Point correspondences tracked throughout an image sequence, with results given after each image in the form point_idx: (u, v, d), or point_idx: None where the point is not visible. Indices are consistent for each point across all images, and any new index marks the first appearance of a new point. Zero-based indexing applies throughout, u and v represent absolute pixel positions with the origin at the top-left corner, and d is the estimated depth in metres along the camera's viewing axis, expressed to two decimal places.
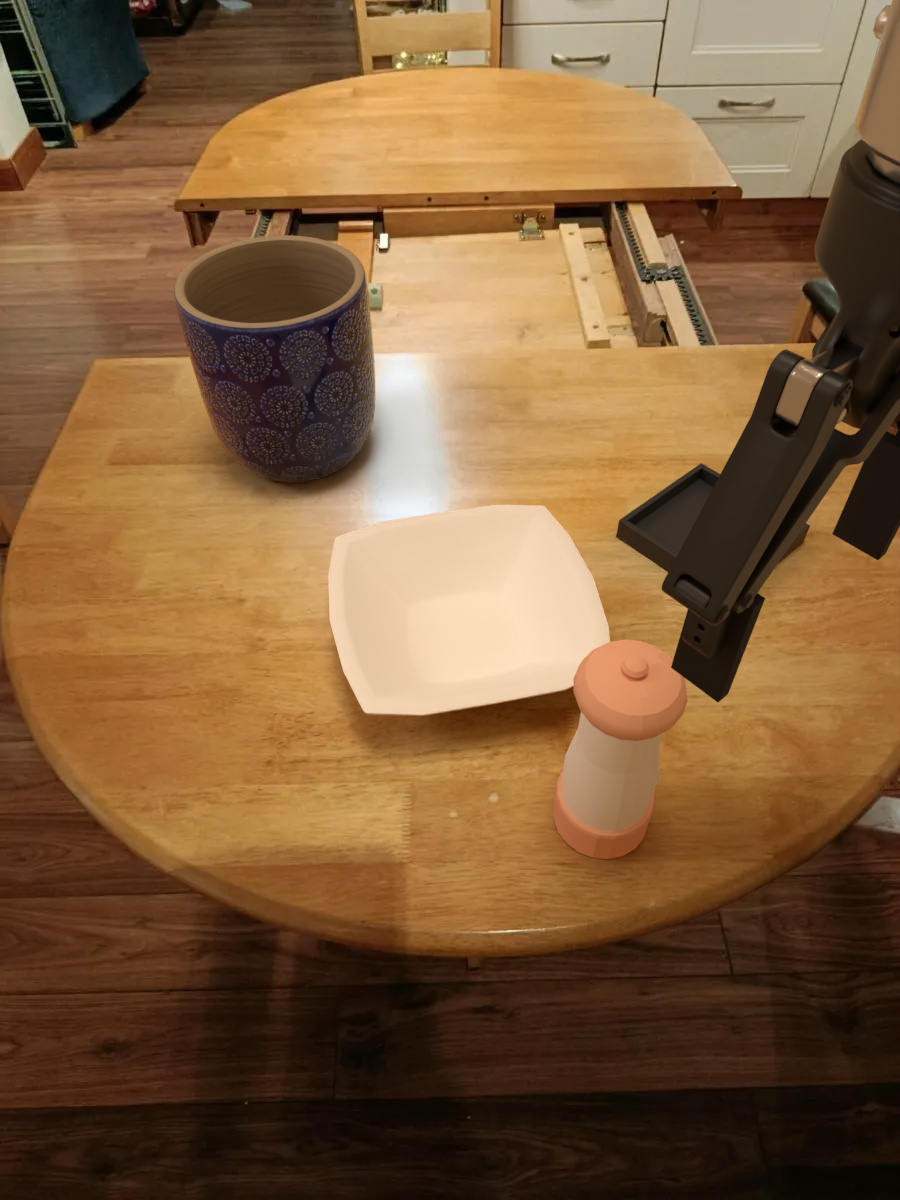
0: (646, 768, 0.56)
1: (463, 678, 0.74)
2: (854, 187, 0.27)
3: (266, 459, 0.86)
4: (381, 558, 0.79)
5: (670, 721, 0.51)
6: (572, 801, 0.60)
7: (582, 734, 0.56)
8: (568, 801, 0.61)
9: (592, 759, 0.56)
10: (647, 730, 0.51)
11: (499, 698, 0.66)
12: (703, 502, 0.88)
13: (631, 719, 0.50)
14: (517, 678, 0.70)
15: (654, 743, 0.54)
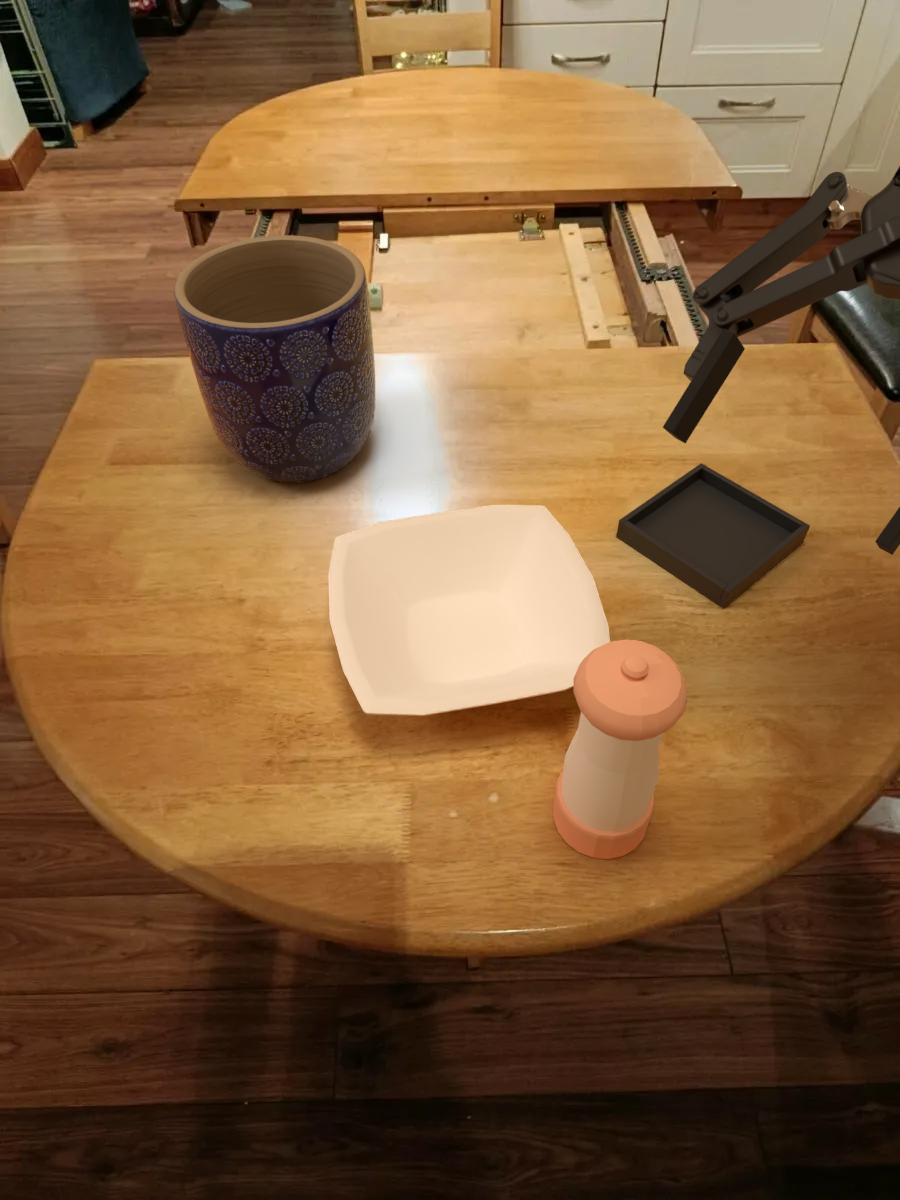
0: (646, 768, 0.56)
1: (463, 678, 0.74)
2: None
3: (266, 459, 0.86)
4: (381, 558, 0.79)
5: (670, 721, 0.51)
6: (572, 801, 0.60)
7: (582, 734, 0.56)
8: (568, 801, 0.61)
9: (592, 759, 0.56)
10: (647, 730, 0.51)
11: (499, 698, 0.66)
12: (703, 502, 0.88)
13: (631, 719, 0.50)
14: (517, 678, 0.70)
15: (654, 743, 0.54)
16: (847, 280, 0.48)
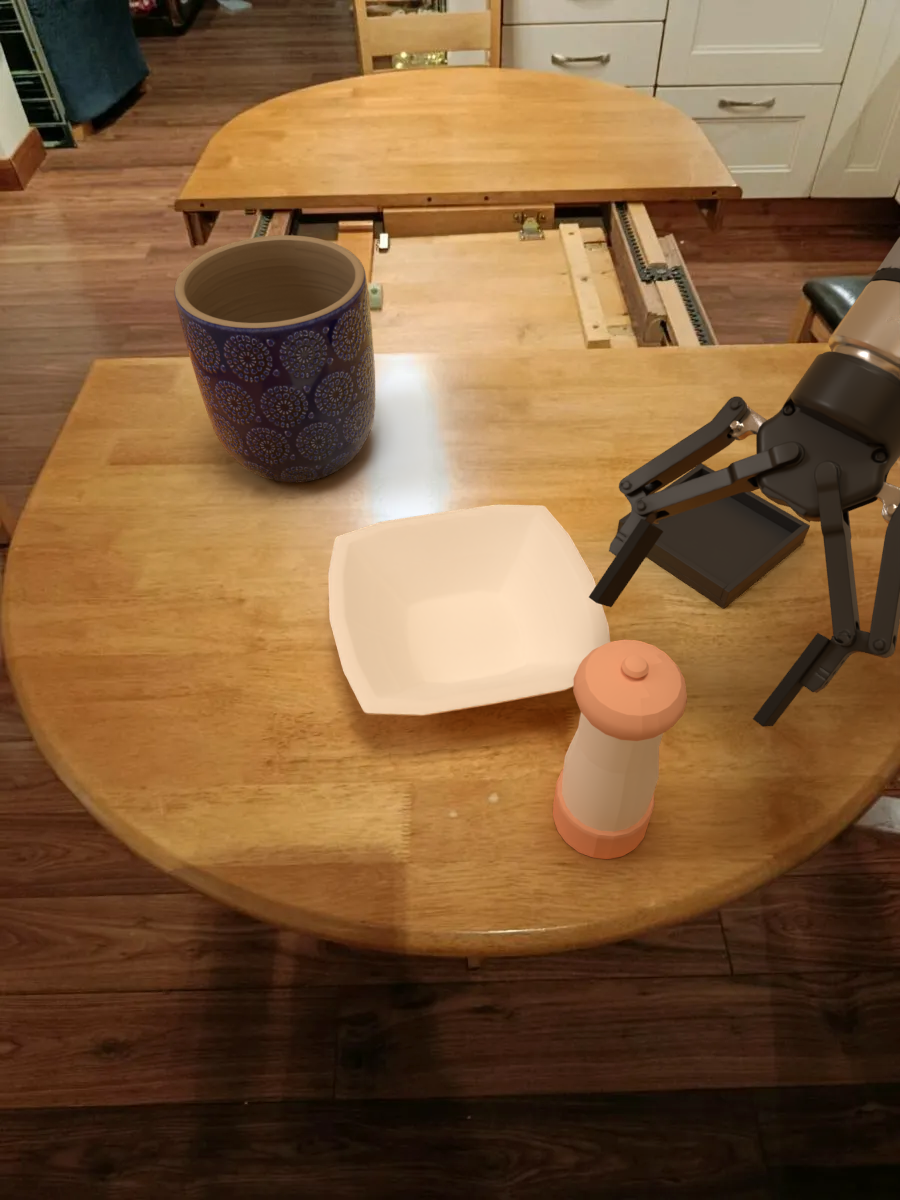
0: (646, 768, 0.56)
1: (463, 678, 0.74)
2: None
3: (266, 459, 0.86)
4: (382, 558, 0.79)
5: (670, 721, 0.51)
6: (572, 801, 0.60)
7: (582, 734, 0.56)
8: (568, 801, 0.61)
9: (592, 759, 0.56)
10: (647, 730, 0.51)
11: (499, 698, 0.66)
12: None
13: (631, 719, 0.50)
14: (517, 678, 0.70)
15: (654, 743, 0.54)
16: (745, 486, 0.56)
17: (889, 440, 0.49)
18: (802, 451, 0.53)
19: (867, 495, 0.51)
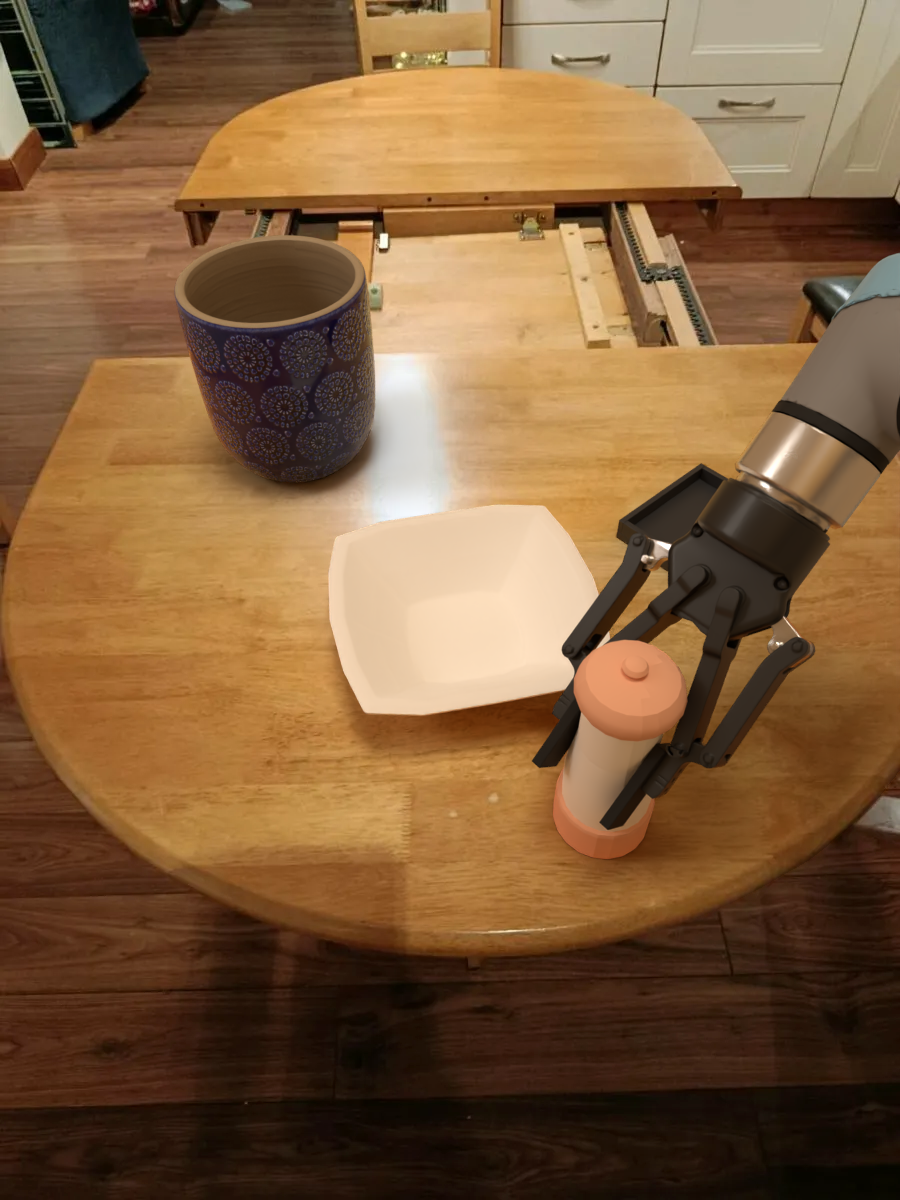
0: None
1: (463, 678, 0.74)
2: None
3: (266, 459, 0.86)
4: (382, 558, 0.79)
5: (670, 722, 0.51)
6: (572, 801, 0.60)
7: (582, 734, 0.56)
8: (568, 801, 0.61)
9: (593, 759, 0.56)
10: (647, 730, 0.51)
11: (499, 698, 0.66)
12: (703, 502, 0.88)
13: (631, 720, 0.50)
14: (517, 678, 0.70)
15: (654, 743, 0.54)
16: (671, 619, 0.56)
17: (788, 571, 0.50)
18: (708, 570, 0.54)
19: (762, 622, 0.52)
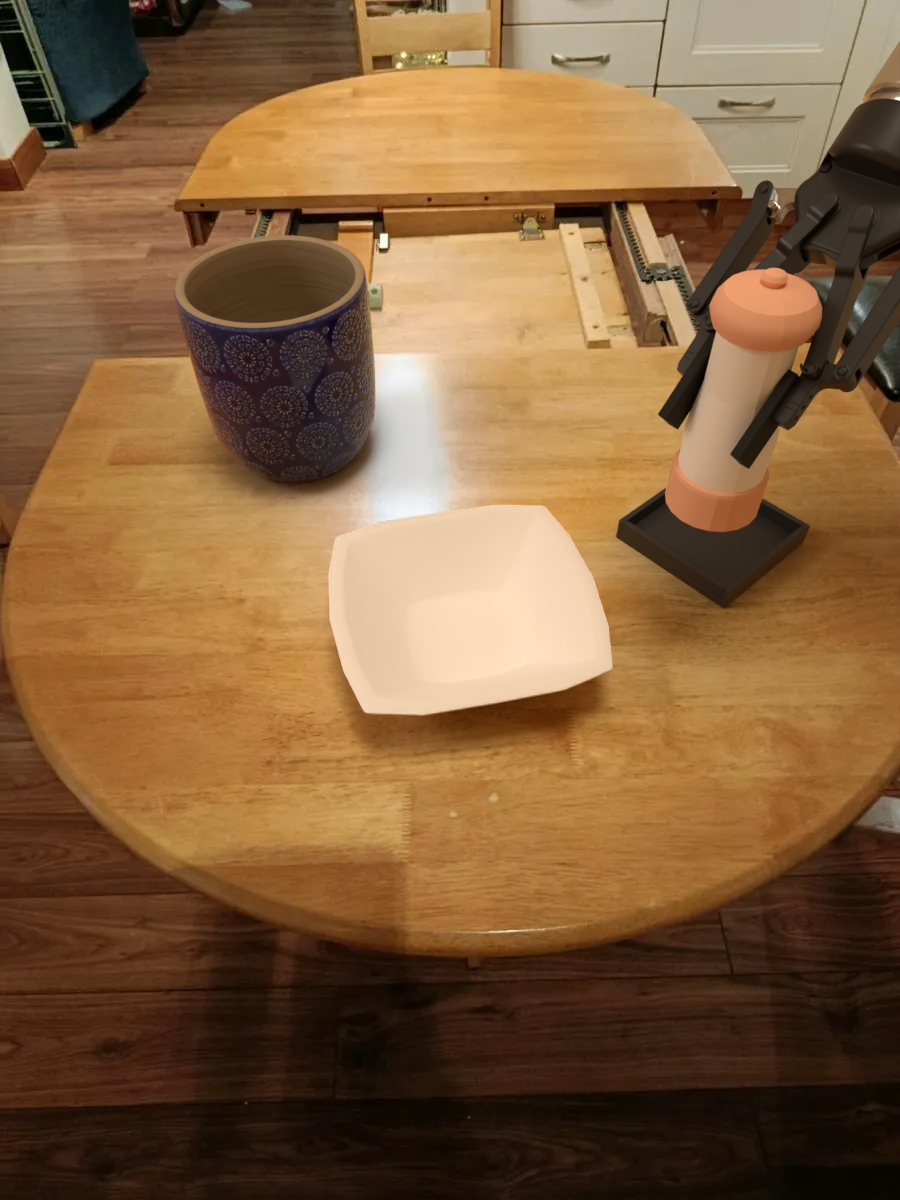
0: None
1: (463, 678, 0.74)
2: None
3: (266, 459, 0.86)
4: (382, 558, 0.79)
5: (810, 327, 0.53)
6: (693, 463, 0.62)
7: (713, 372, 0.58)
8: (688, 466, 0.63)
9: (723, 396, 0.58)
10: (789, 332, 0.53)
11: (499, 698, 0.66)
12: None
13: (773, 320, 0.52)
14: (517, 678, 0.70)
15: (787, 368, 0.56)
16: (797, 262, 0.58)
17: None
18: (838, 199, 0.56)
19: (895, 237, 0.54)
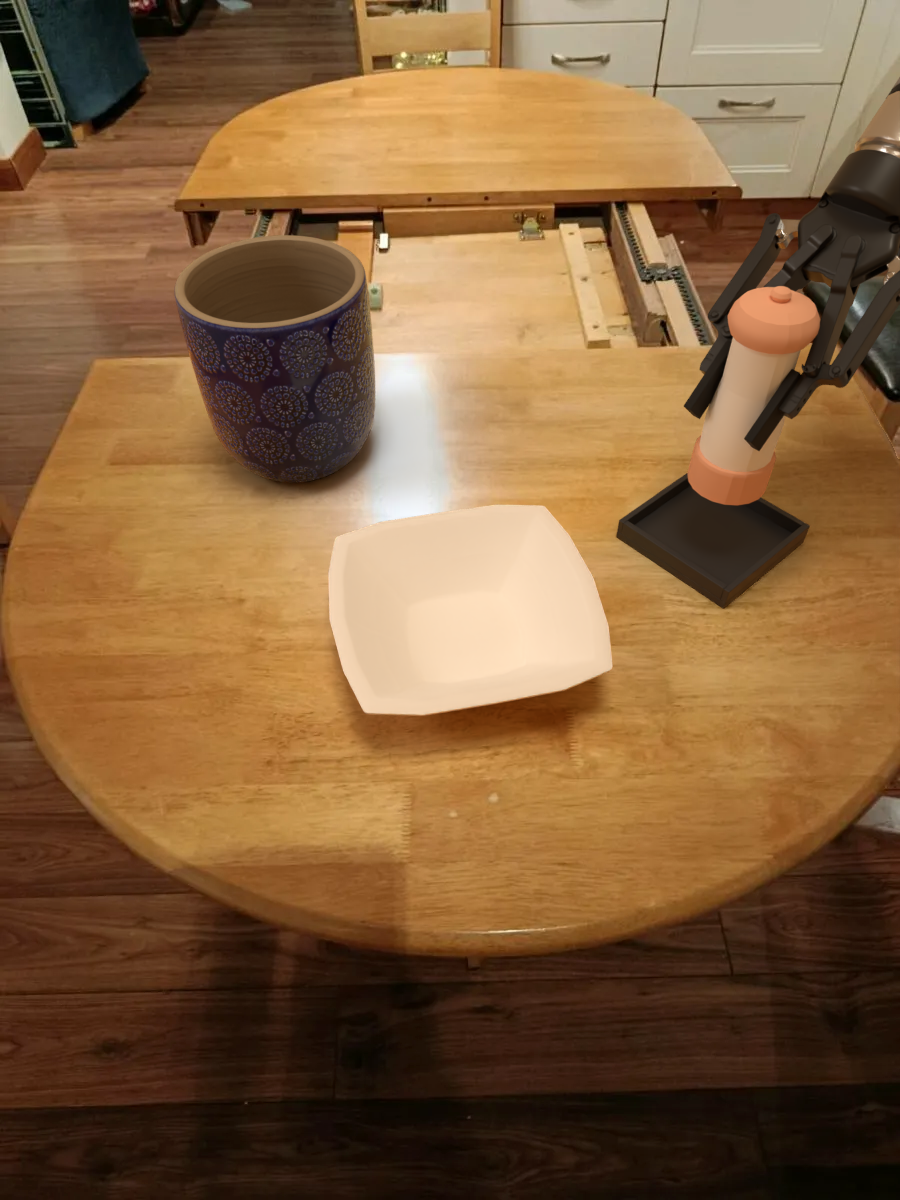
0: None
1: (463, 678, 0.74)
2: None
3: (266, 459, 0.86)
4: (381, 558, 0.79)
5: (809, 334, 0.65)
6: (713, 446, 0.75)
7: (730, 371, 0.70)
8: (708, 450, 0.75)
9: (738, 390, 0.70)
10: (792, 338, 0.65)
11: (499, 698, 0.66)
12: (703, 502, 0.88)
13: (780, 329, 0.65)
14: (517, 678, 0.70)
15: (791, 367, 0.68)
16: (800, 280, 0.70)
17: None
18: (833, 229, 0.68)
19: (879, 261, 0.66)
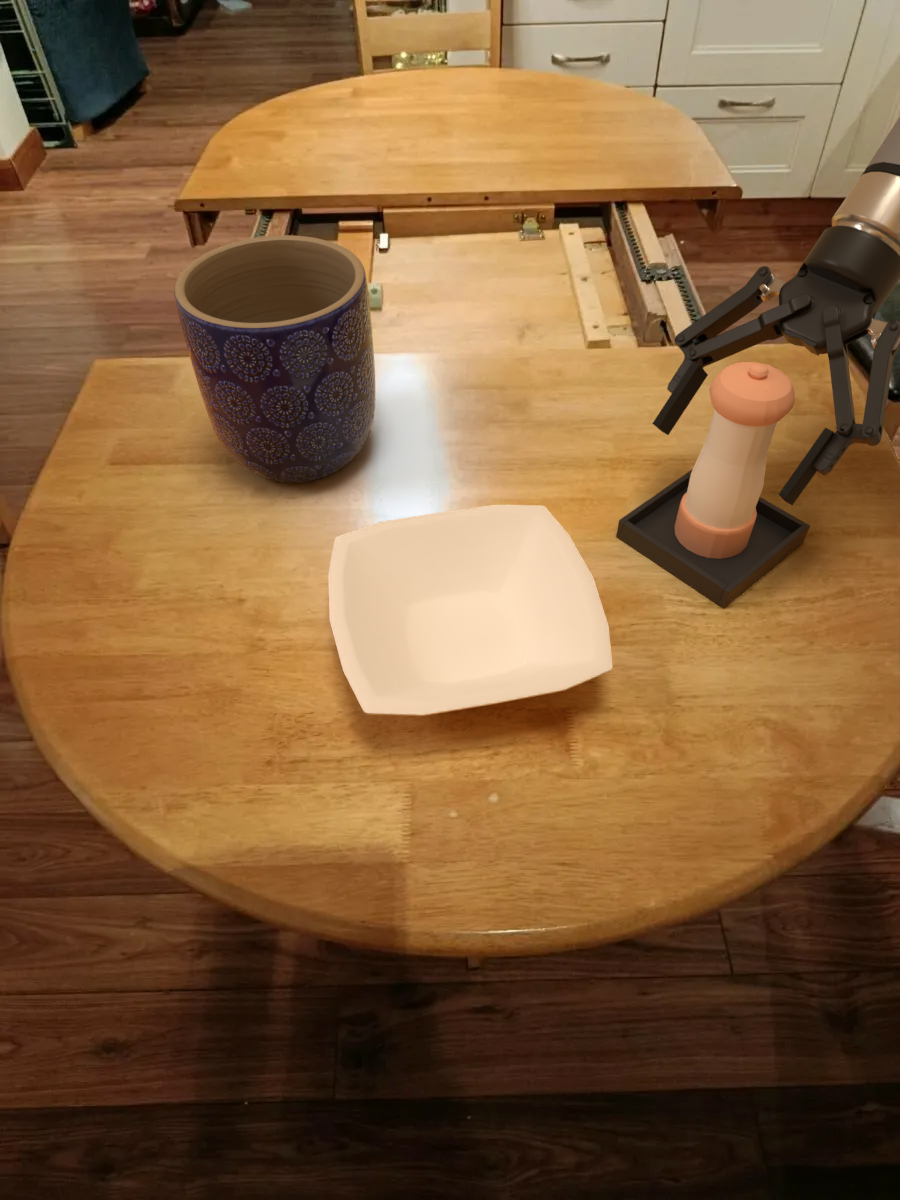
0: (759, 464, 0.75)
1: (463, 678, 0.74)
2: None
3: (266, 459, 0.86)
4: (381, 558, 0.79)
5: (785, 408, 0.70)
6: (697, 505, 0.80)
7: (712, 438, 0.75)
8: (693, 508, 0.81)
9: (720, 456, 0.75)
10: (769, 413, 0.70)
11: (499, 698, 0.66)
12: None
13: (757, 404, 0.70)
14: (517, 678, 0.70)
15: (768, 437, 0.73)
16: (770, 333, 0.75)
17: (875, 286, 0.69)
18: (813, 301, 0.72)
19: (860, 328, 0.70)
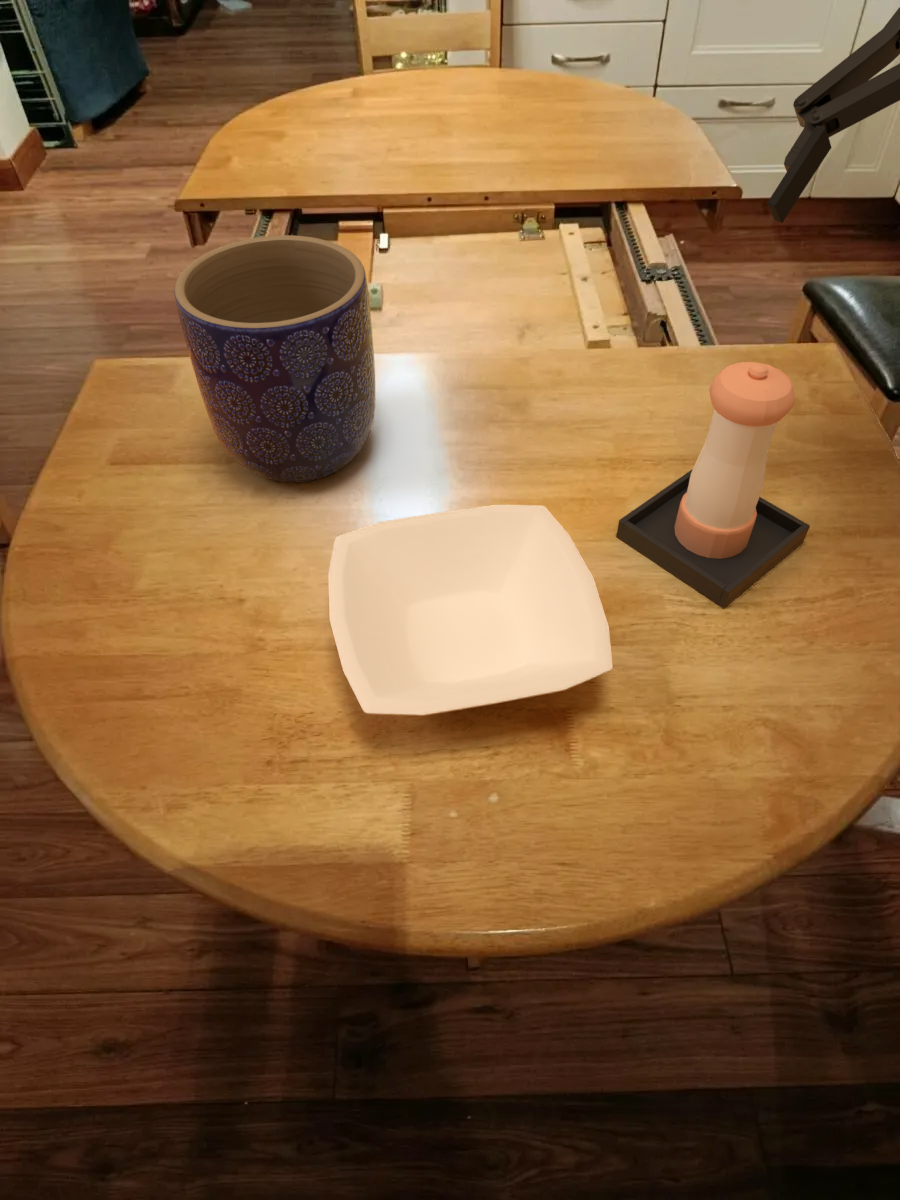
0: (759, 464, 0.75)
1: (463, 678, 0.74)
2: None
3: (266, 459, 0.86)
4: (382, 558, 0.79)
5: (785, 408, 0.70)
6: (697, 505, 0.80)
7: (712, 438, 0.75)
8: (693, 508, 0.81)
9: (720, 456, 0.75)
10: (769, 413, 0.70)
11: (499, 698, 0.66)
12: None
13: (757, 404, 0.70)
14: (517, 678, 0.70)
15: (768, 437, 0.73)
16: None
17: None
18: None
19: None
